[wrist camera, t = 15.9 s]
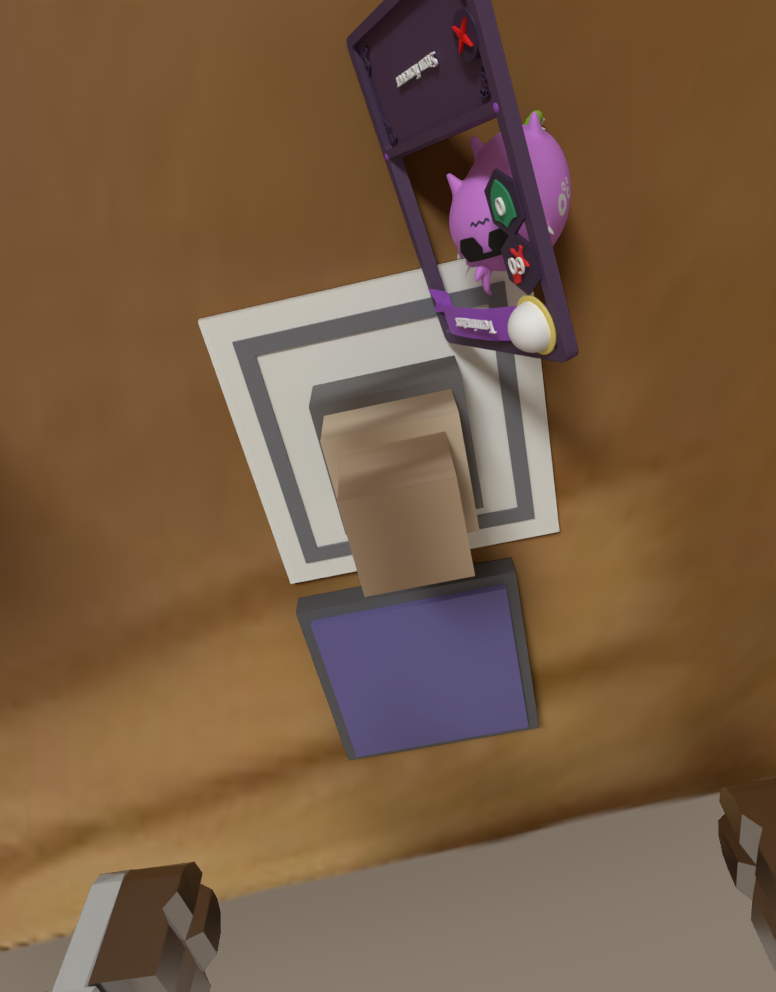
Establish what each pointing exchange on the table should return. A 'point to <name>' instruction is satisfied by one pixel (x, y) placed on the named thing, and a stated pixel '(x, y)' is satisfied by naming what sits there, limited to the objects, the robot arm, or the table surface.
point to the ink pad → (423, 662)
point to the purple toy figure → (492, 178)
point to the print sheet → (363, 350)
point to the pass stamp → (402, 472)
